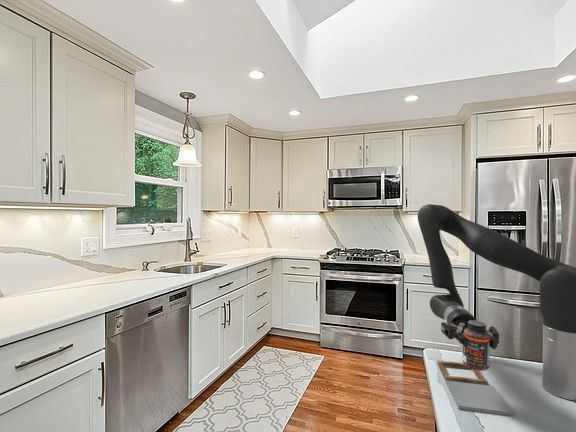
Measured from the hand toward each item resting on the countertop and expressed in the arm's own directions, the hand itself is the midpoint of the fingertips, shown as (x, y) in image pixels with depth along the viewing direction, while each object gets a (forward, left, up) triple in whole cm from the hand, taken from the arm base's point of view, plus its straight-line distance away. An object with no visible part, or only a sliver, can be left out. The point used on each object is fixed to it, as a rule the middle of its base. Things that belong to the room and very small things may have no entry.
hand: (479, 343), depth 80 cm
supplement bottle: (0, -3, -7) cm, 7 cm away
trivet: (0, -2, -15) cm, 15 cm away
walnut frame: (0, -15, -15) cm, 21 cm away
